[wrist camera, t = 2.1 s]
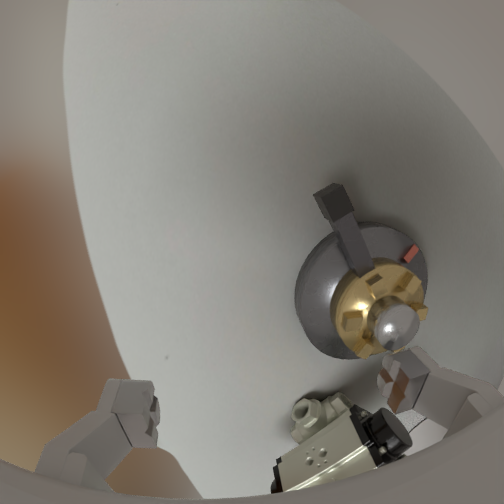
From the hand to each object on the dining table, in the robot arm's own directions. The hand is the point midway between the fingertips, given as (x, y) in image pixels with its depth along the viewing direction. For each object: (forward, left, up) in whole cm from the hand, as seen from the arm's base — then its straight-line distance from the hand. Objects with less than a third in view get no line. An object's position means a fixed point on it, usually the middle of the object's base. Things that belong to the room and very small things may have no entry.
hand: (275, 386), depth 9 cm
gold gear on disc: (-15, -4, -21) cm, 26 cm away
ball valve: (-25, +13, -22) cm, 36 cm away
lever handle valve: (-11, -5, -18) cm, 22 cm away
